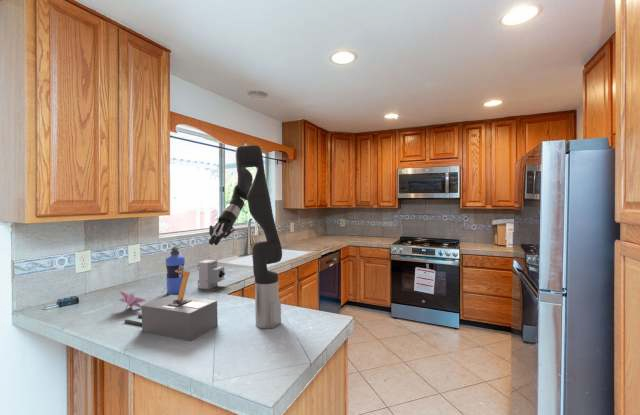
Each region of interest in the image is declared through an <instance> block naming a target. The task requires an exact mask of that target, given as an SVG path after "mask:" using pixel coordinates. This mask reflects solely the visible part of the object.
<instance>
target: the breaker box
mask: <svg viewBox="0 0 640 415" xmlns="http://www.w3.org/2000/svg"><path fill="white" fill-rule="evenodd" d="M178 295H179V294H178ZM178 295H166V296H164V297H161V298H159V299H156V300H153V301H150V302H148V303H145V304H142V305H141V307H142V308H141V313H139V314H138V315H137V317H138V318H141V321H137V320H132V319H125V320H124V323H126V324H131V325H137V326H141V332H144V333H147V334H153V335H158V336H162V337H166V338H173V339H177V340H183V341H187V342H192V341H194V340H196V339H197V338H199V337H200V336H202V335H204V334H206V333H207V332H209V331H211V330H213V329H214V328H216V327H218V325H219V323H218V319H219V318H218V300H214V299H207V298H200V297H192V296H185V295H184V297H183V300H181V301H180V302H177V299H178Z"/></svg>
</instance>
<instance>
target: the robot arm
mask: <svg viewBox="0 0 640 415" xmlns="http://www.w3.org/2000/svg"><path fill="white" fill-rule="evenodd" d="M234 156H235V165H236V173H237V183H236V184H235V185H234V187H233V191H232V195H231V199H230V200H229V202H228V203H227V205H226V206H225V207H224V209H223V210H222V212H221V213H220V215H219V217H218V220H217V222H216V223H215V225H210V226H209V232H208V234H209V235H210V236H209V237H210V238H209V240H208V244H209V245H210V246H212V245H214V246H218V244H220V241H222V239H223V238H224V239H226V238H227V237H228V236H230V235H231V234H232V233H233V232H234V231H235V227H233V226H234V224H235V222H236V221H237V220H238V218H239V216H240V213H241V212H242V209H243V208H244V206H245V201H247V204H248V211H249V214H250V215H251V217H253V220H255V222H256V223H257V224H258V226H259V227H260V228H261V229H262V230H263V233H264V235H265V239H266V240H263V241H257V242H255V243H254V244H253V245H252V246H253V247H252V252H251V253H252V254H251V257H252V268H253V271H252V272H253V277H254V297H255V298H254V300H255V302H254V304H255V308H254V310H255V326H256V327H257V328H259V329H274V328H276V327H277V326H279V324H281V323H282V300H281V298H280V297H279V296H280V295H279V274H278V273H277V272H275V271H272V270H268V265H271V264H277V263H280V262H281V260H282V258H283V249H282V245H281V244H282V243H281V241H280V236H279V234H278V230H277V227H276V223H275V222H276V221H275V217H274V213H273V209H272V207H273V206H272V201H271V197H270V192H269V188H268V184H267V178H266V172H265V163H264V156H263V151H262V148H261V147H260V146H259V145H256V144H255V145H254V144H251V145H241V146H240V145H239V146H237V147H236V148H235V155H234ZM247 168H255V170H256V171H255V172H256V173H255V175H254V176H255V177H254V179H253V174H252V172H251V171H250V170H248V169H247Z"/></svg>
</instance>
